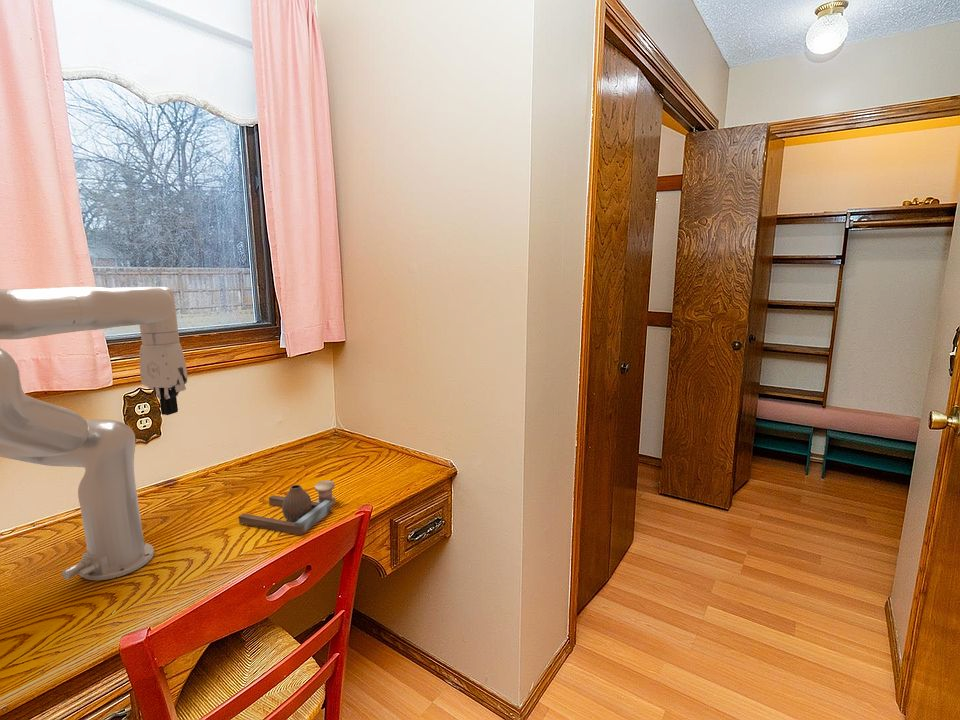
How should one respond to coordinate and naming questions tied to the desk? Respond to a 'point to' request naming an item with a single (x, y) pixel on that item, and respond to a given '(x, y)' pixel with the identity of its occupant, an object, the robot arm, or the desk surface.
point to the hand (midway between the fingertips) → (169, 413)
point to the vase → (296, 503)
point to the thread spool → (325, 491)
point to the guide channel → (284, 526)
